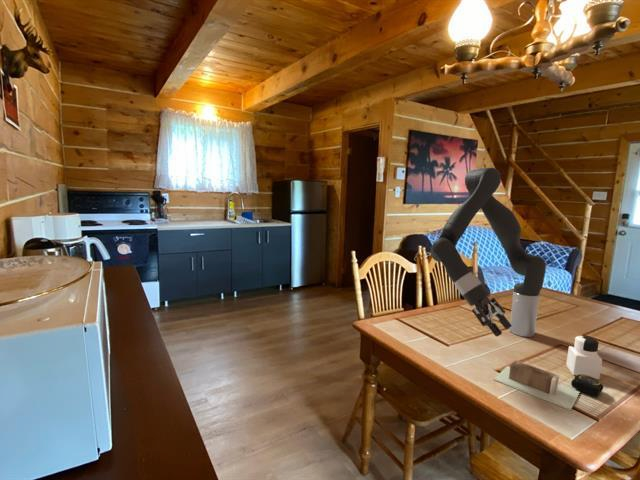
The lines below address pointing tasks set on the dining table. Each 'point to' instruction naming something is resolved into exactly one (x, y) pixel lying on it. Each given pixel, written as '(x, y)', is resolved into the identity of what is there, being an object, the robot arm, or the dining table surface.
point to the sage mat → (561, 398)
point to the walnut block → (534, 377)
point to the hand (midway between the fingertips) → (504, 331)
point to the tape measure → (587, 385)
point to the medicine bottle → (584, 357)
